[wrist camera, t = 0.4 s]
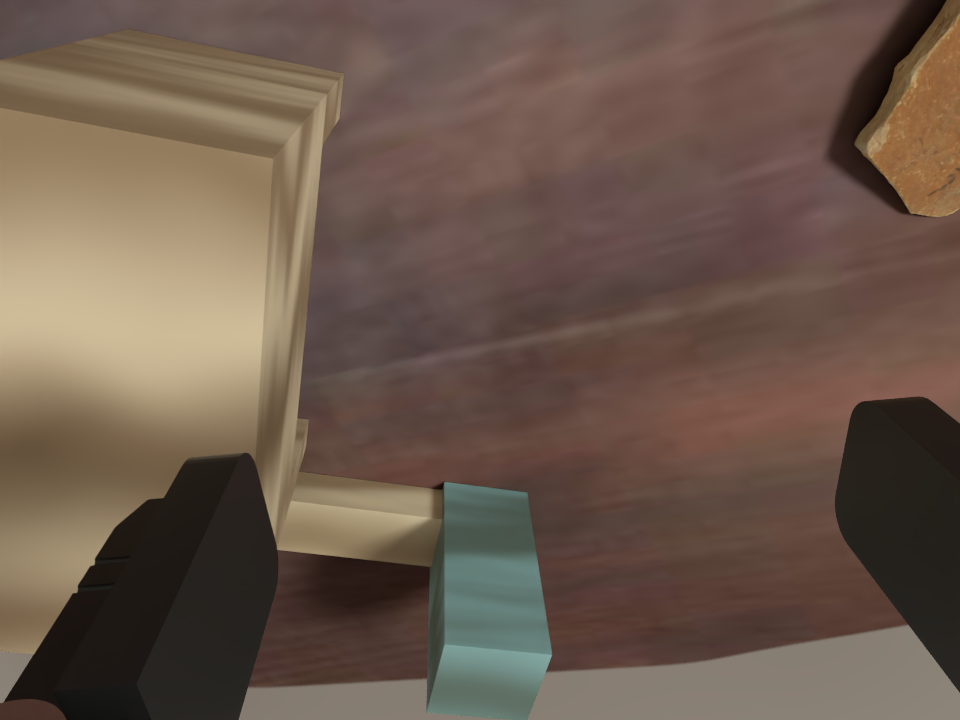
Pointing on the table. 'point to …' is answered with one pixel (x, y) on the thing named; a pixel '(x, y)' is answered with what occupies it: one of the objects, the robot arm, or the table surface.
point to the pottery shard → (922, 121)
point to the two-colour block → (445, 578)
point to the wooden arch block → (145, 289)
